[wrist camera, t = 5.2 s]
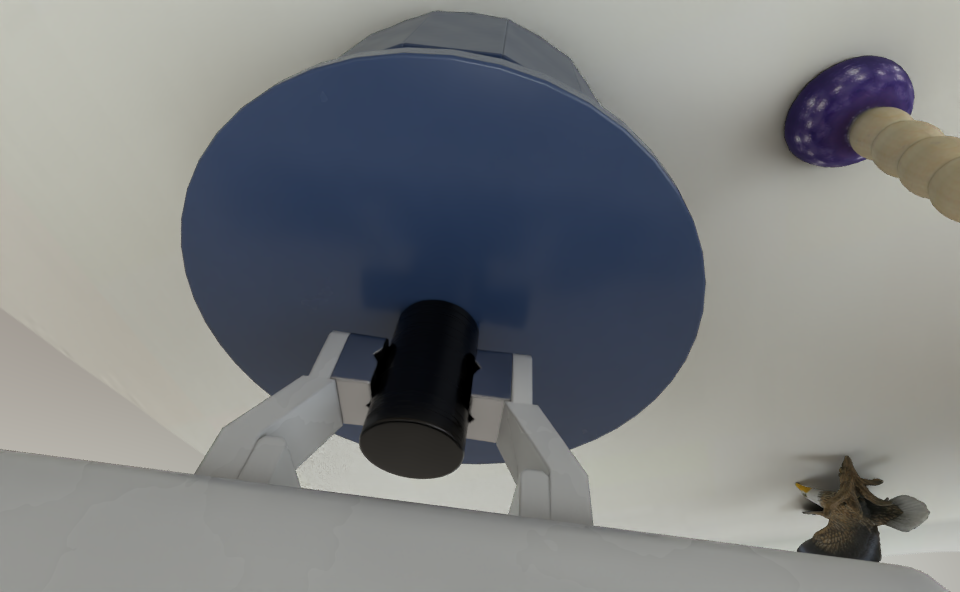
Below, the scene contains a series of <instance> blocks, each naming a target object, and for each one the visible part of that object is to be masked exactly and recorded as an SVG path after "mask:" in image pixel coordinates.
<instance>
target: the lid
mask: <svg viewBox="0 0 960 592" xmlns="http://www.w3.org/2000/svg"><path fill="white" fill-rule="evenodd" d="M181 248H182V254H183V260H184V267H185V273H186V276H187V279H188V282H189V285H190V288H191V291H192V294H193V297H194V300H195V302H196V304H197V306H198V308H199V310H200V312H201V314H202V316H203V318H204V320H205V322H206V324H207V325H208V327H209V328H210V330H211V332H212V333H213V335H214V336H215V338H216V339H217V341H218V342H219V344H220V345H221V346H222V348H223V349H224V350H225V351H226V352H227V354H228V355H229V356H230V357H231V358H232V360H233V361H234V362H235V363H236V364H237V365H238V366H239V367H240V368H241V369H242V370H243V371H244V372H245V373H246V374H247V375H248V376H249V377H250V378H251V379H252V380H253V381H254V382H255V383H256V384H257V385H258V386H260V387H261V388H262V389H263V390H265V391H266V392H267V393H268V394H269V395H271V396H272V395H274V394H275V393H277V392H278V391H280V390H281V389H283V388H284V387H286V386H287V385H289V384H290V383H292V382H293V381H295V380H296V379H298V378H300V377H301V376H303V375H305V376H309V374H310V372H311V369H312V367H313V365H314V363H315V361H316V359H317V357H318V355H319V353H320V351H321V349H322V347H323V345H324V343H325V341H326V339H327V337H328V335H329V334H330V333H331V332H332V331H333V330H334V331H341V332H347V333H356V334H363V335H369V336H376V337H383V338H387V339H389V349H388V352H387V355H386V358H385V361H384V364H383V367H382V370H381V373H380V376H379V379H378V382H377V385H376V388H375V391H374V394H373V397H372V400H371V404H370V407H369V410H368V413H367V416H366V419H365V422H364V425H353V424H344V423H343V426H342V427H341V428H340V429H338V430H337V431H336V432H335V433H334V434H336V435H338V436H341V437H343V438H346V439H349V440H351V441H354V442H356V443H359V445H360V449H361V451H362V453H363V454H364V456H365V457H366V458H367V459H368V460H369V461H370V462H371V463H373V464H374V465H375V466H377V467H379V468H380V469H382V470H385V471H387V472H389V473H392V474H395V475H398V476H402V477H407V478H415V479H431V478H438V477H442V476H445V475H448V474H450V473H452V472H454V471H455V470H456V469H457V468H458V467H459V466H460V465H461V464H493V463H505V461H504V459H503V457H502V455H501V453H500V451H499V449H498V447H497V445H496V443H493V442H486V441H480V440H473V439H467V438H466V437H467V429H468V421H469V404H470V395H471V387H472V380H473V371H474V364H475V356H476V349H480V350H489V351H498V352H506V353H512V354H513V353H514V354H522V355H531V357H532V404H533V405H538V406H539V407H540V409H541V410H542V412H543V413H544V414H545V416H546V417H547V419H548V420H549V421H550V423H551V424H552V426H553V427H554V428H555V430H556V431H557V433H558V434H559V435H560V437H561V438H562V440H563V441H564V442H565V444H566V445H567V447H568V448H569V449H573V448H576V447H578V446H581V445H583V444H586V443H588V442H591V441H593V440H596V439H598V438H599V437H601V436H603V435H605V434H607V433H609V432H611V431H613V430H615V429H617V428H618V427H620V426H621V425H623V424H624V423H626V422H627V421H629V420H630V419H632V418H633V417H635V416H636V415H638V414H639V413H640V412H641V411H642V410H643V409H645V408H646V407H647V406H648V405H649V404H651V403H652V402H653V401H654V400H655V399H656V398H657V397H658V396H659V395H660V394H661V393H662V391H663V390H664V389H665V388H666V387H667V386H668V385H669V384H670V383H671V381H672V380H673V378H674V377H675V375H676V374H677V372H678V371H679V370H680V368H681V367H682V365H683V364H684V362H685V360H686V358H687V356H688V354H689V352H690V350H691V347H692V345H693V343H694V341H695V339H696V336H697V332H698V329H699V325H700V321H701V318H702V314H703V309H704V297H705V285H706V280H705V270H704V259H703V251H702V248H701V244H700V241H699V237H698V234H697V230H696V227H695V223H694V221H693V219H692V216H691V214H690V212H689V210H688V208H687V206H686V204H685V202H684V200H683V198H682V196H681V194H680V192H679V190H678V188H677V186H676V185H675V183H674V181H673V180H672V178H671V177H670V175H669V174H668V173H667V171H666V170H665V169H664V167H663V166H662V164H661V163H660V162H659V160H658V159H657V157H656V156H655V155H654V153H653V152H652V151H651V149H650V148H649V147H648V146H647V145H646V144H645V143H644V142H643V141H642V140H641V139H640V138H639V137H638V136H636V135H635V134H634V133H633V132H632V131H631V130H630V129H629V128H628V127H627V126H626V125H625V124H624V123H623V122H622V121H621V120H620V119H618V118H617V117H616V116H614V115H613V114H611V113H610V112H609V111H607V110H606V109H605V108H603V107H602V106H601V105H599V104H598V103H596V102H595V101H594V100H592V99H591V98H590V97H588V96H587V95H585V94H583V93H581V92H579V91H577V90H575V89H573V88H571V87H569V86H568V85H566V84H564V83H562V82H560V81H558V80H556V79H554V78H552V77H550V76H548V75H546V74H544V73H541V72H538V71H535V70H532V69H529V68H526V67H524V66H521V65H518V64H515V63H512V62H509V61H506V60H504V59H500V58H495V57H490V56H485V55H480V54H474V53H469V52H464V51H459V50H452V49H431V48H410V47H406V48H396V49H387V50H377V51H367V52H360V53H356V54H353V55H349V56H345V57H341V58H337V59H334V60H330V61H326V62H322V63H319V64H317V65H315V66H312V67H310V68H308V69H306V70H304V71H301V72H299V73H297V74H295V75H293V76H290V77H288V78H286V79H284V80H282V81H280V82H279V83H277V84H276V85H274V86H273V87H271V88H270V89H268V90H267V91H265V92H264V93H262V94H261V95H259V96H258V97H257V98H255V99H254V100H252V101H251V102H249V103H248V104H246V105H245V106H243V107H242V108H241V109H240V110H239V111H238V112H237V113H236V114H235V115H234V116H233V117H232V118H231V119H230V120H229V121H228V122H227V123H226V124H225V125H224V126H223V127H222V128H221V129H220V130H219V131H218V132H217V133H216V135H215V136H214V138H213V139H212V141H211V142H210V144H209V145H208V147H207V149H206V150H205V152H204V153H203V155H202V156H201V158H200V159H199V161H198V163H197V166H196V168H195V171H194V173H193V176H192V178H191V181H190V183H189V186H188V188H187V192H186V197H185V203H184V208H183V213H182V218H181Z"/></svg>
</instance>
